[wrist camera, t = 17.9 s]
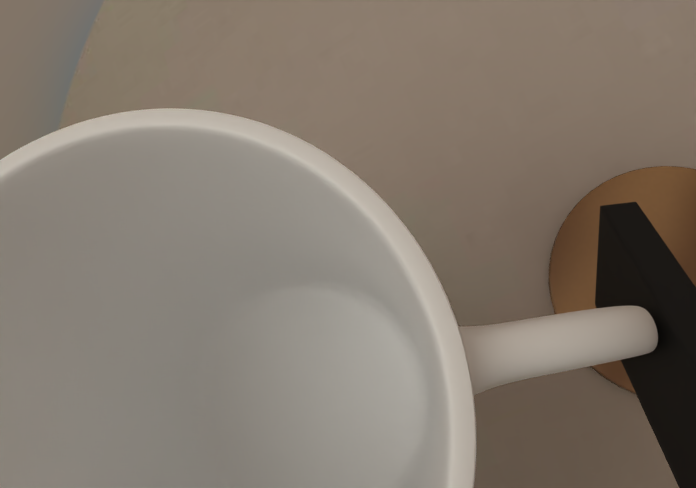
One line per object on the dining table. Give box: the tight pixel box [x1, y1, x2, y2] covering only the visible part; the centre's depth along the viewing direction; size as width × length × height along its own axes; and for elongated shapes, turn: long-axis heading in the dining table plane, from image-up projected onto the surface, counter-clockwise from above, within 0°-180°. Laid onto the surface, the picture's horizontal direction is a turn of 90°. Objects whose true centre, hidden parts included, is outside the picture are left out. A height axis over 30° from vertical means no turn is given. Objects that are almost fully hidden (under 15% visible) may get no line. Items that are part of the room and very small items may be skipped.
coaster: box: [549, 166, 696, 394], centre depth 33 cm, size 12×12×1 cm
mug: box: [0, 108, 658, 488], centre depth 13 cm, size 12×8×12 cm
